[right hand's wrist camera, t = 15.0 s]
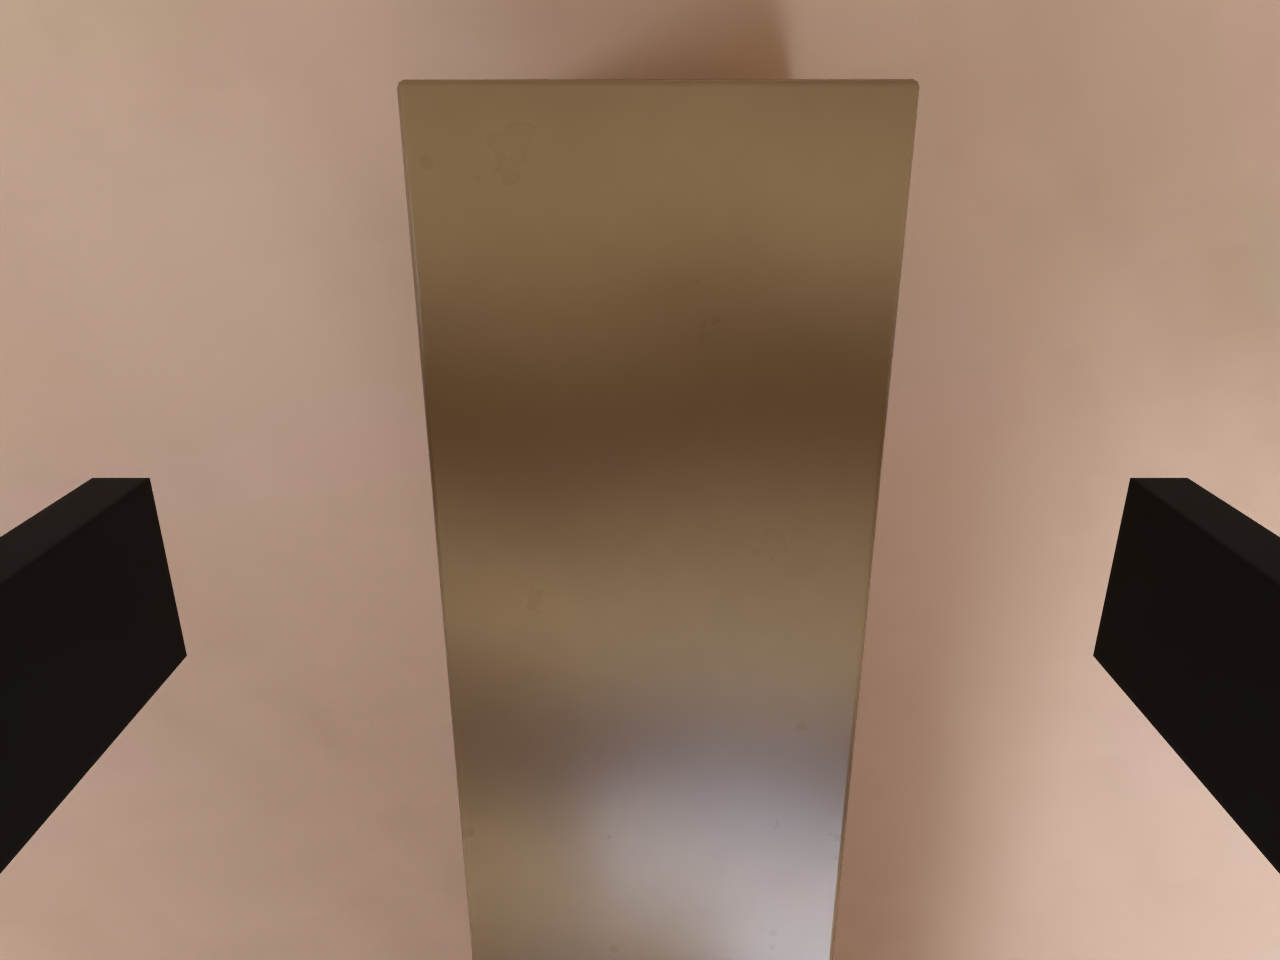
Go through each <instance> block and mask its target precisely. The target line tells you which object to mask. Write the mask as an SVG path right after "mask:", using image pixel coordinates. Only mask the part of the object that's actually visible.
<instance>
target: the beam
mask: <svg viewBox="0 0 1280 960" xmlns="http://www.w3.org/2000/svg"><path fill="white" fill-rule="evenodd" d="M397 93H398V104H399V116H400V127H401V139H402V150H403V162H404V173H405V185H406V196H407V208H408V219H409V231H410V242H411V254H412V265H413V277H414V288H415V300H416V311H417V323H418V334H419V346H420V357H421V369H422V380H423V392H424V403H425V415H426V426H427V438H428V449H429V461H430V472H431V484H432V495H433V507H434V518H435V530H436V541H437V553H438V564H439V576H440V587H441V599H442V610H443V622H444V633H445V645H446V656H447V668H448V679H449V691H450V702H451V714H452V726H453V737H454V749H455V760H456V772H457V783H458V795H459V806H460V818H461V829H462V841H463V852H464V864H465V875H466V887H467V898H468V910H469V921H470V933H471V944H472V956H473V960H832V958H833V948H834V938H835V928H836V918H837V908H838V898H839V888H840V878H841V868H842V858H843V848H844V838H845V828H846V818H847V808H848V798H849V788H850V778H851V768H852V758H853V748H854V738H855V728H856V718H857V707H858V697H859V687H860V677H861V667H862V657H863V647H864V637H865V627H866V617H867V607H868V597H869V587H870V577H871V567H872V557H873V547H874V537H875V527H876V517H877V507H878V497H879V487H880V477H881V467H882V457H883V447H884V437H885V427H886V417H887V406H888V396H889V386H890V376H891V366H892V356H893V346H894V336H895V326H896V316H897V306H898V296H899V286H900V276H901V266H902V256H903V246H904V236H905V226H906V216H907V206H908V196H909V186H910V176H911V166H912V156H913V146H914V136H915V126H916V115H917V105H918V95H919V85H918V82H917V81H915V80H913V79H632V80H402V81H400V82H399V83H398V87H397Z"/></svg>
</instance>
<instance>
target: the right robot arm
mask: <svg viewBox="0 0 1280 960" xmlns="http://www.w3.org/2000/svg"><path fill="white" fill-rule="evenodd" d="M186 656H187V654H186V650H185V645H184V640H183V635H182V630H181V626H180V621H179V616H178V611H177V607H176V602H175V597H174V592H173V587H172V583H171V578H170V573H169V568H168V563H167V559H166V554H165V549H164V544H163V540H162V535H161V530H160V525H159V520H158V516H157V511H156V506H155V501H154V497H153V492H152V487H151V482H150V478H92V479H90V480H89V481H87V482H85V483H84V484H82V485H81V486H79V487H78V488H76V489H75V490H73V491H71V492H70V493H68V494H67V495H65V496H64V497H62V498H61V499H59V500H57V501H56V502H54V503H53V504H51V505H50V506H48V507H47V508H45V509H43V510H42V511H40V512H39V513H37V514H36V515H34V516H33V517H31V518H29V519H28V520H26V521H25V522H23V523H22V524H20V525H19V526H17V527H15V528H14V529H12V530H11V531H9V532H8V533H6V534H5V535H3V536H1V537H0V873H1V872H2V871H3V870H4V869H5V868H6V866H7V865H8V864H9V863H10V862H11V861H12V859H13V858H14V857H15V856H16V855H17V854H18V852H19V851H20V850H21V849H22V848H23V846H24V845H25V844H26V843H27V842H28V841H29V839H30V838H31V837H32V836H33V835H34V834H35V832H36V831H37V830H38V829H39V828H40V827H41V825H42V824H43V823H44V822H45V821H46V820H47V818H48V817H49V816H50V815H51V814H52V813H53V811H54V810H55V809H56V808H57V807H58V806H59V804H60V803H61V802H62V801H63V800H64V799H65V797H66V796H67V795H68V794H69V793H70V792H71V790H72V789H73V788H74V787H75V786H76V785H77V783H78V782H79V781H80V780H81V779H82V778H83V776H84V775H85V774H86V773H87V772H88V771H89V769H90V768H91V767H92V766H93V765H94V764H95V762H96V761H97V760H98V759H99V758H100V757H101V755H102V754H103V753H104V752H105V751H106V749H107V748H108V747H109V746H110V745H111V744H112V742H113V741H114V740H115V739H116V738H117V737H118V735H119V734H120V733H121V732H122V731H123V730H124V728H125V727H126V726H127V725H128V724H129V723H130V721H131V720H132V719H133V718H134V717H135V716H136V714H137V713H138V712H139V711H140V710H141V709H142V707H143V706H144V705H145V704H146V703H147V702H148V700H149V699H150V698H151V697H152V696H153V695H154V693H155V692H156V691H157V690H158V689H159V688H160V686H161V685H162V684H163V683H164V682H165V681H166V679H167V678H168V677H169V676H170V675H171V674H172V672H173V671H174V670H175V669H176V668H177V667H178V665H179V664H180V663H181V662H182V661H183V660H184V658H185V657H186ZM1093 656H1094V657H1095V658H1096V660H1097V661H1098V662H1099V663H1100V664H1101V665H1102V667H1103V668H1104V669H1105V670H1106V671H1107V672H1108V674H1109V675H1110V676H1111V677H1112V678H1113V679H1114V681H1115V682H1116V683H1117V684H1118V685H1119V686H1120V688H1121V689H1122V690H1123V691H1124V692H1125V693H1126V695H1127V696H1128V697H1129V698H1130V699H1131V700H1132V702H1133V703H1134V704H1135V705H1136V706H1137V707H1138V709H1139V710H1140V711H1141V712H1142V713H1143V714H1144V716H1145V717H1146V718H1147V719H1148V720H1149V721H1150V723H1151V724H1152V725H1153V726H1154V727H1155V728H1156V730H1157V731H1158V732H1159V733H1160V734H1161V735H1162V737H1163V738H1164V739H1165V740H1166V741H1167V742H1168V744H1169V745H1170V746H1171V747H1172V748H1173V749H1174V751H1175V752H1176V753H1177V754H1178V755H1179V757H1180V758H1181V759H1182V760H1183V761H1184V762H1185V764H1186V765H1187V766H1188V767H1189V768H1190V769H1191V771H1192V772H1193V773H1194V774H1195V775H1196V776H1197V778H1198V779H1199V780H1200V781H1201V782H1202V783H1203V785H1204V786H1205V787H1206V788H1207V789H1208V790H1209V792H1210V793H1211V794H1212V795H1213V796H1214V797H1215V799H1216V800H1217V801H1218V802H1219V803H1220V804H1221V806H1222V807H1223V808H1224V809H1225V810H1226V811H1227V813H1228V814H1229V815H1230V816H1231V817H1232V818H1233V820H1234V821H1235V822H1236V823H1237V824H1238V825H1239V827H1240V828H1241V829H1242V830H1243V831H1244V832H1245V834H1246V835H1247V836H1248V837H1249V838H1250V839H1251V841H1252V842H1253V843H1254V844H1255V845H1256V846H1257V848H1258V849H1259V850H1260V851H1261V852H1262V854H1263V855H1264V856H1265V857H1266V858H1267V859H1268V861H1269V862H1270V863H1271V864H1272V865H1273V866H1274V868H1275V869H1276V870H1277V871H1278V872H1279V873H1280V537H1279V536H1277V535H1275V534H1274V533H1272V532H1271V531H1269V530H1268V529H1266V528H1265V527H1263V526H1261V525H1260V524H1258V523H1257V522H1255V521H1254V520H1252V519H1251V518H1249V517H1247V516H1246V515H1244V514H1243V513H1241V512H1240V511H1238V510H1237V509H1235V508H1233V507H1232V506H1230V505H1229V504H1227V503H1226V502H1224V501H1223V500H1221V499H1219V498H1218V497H1216V496H1215V495H1213V494H1212V493H1210V492H1209V491H1207V490H1205V489H1204V488H1202V487H1201V486H1199V485H1198V484H1196V483H1195V482H1193V481H1191V480H1190V479H1188V478H1130V482H1129V487H1128V492H1127V496H1126V501H1125V506H1124V511H1123V516H1122V520H1121V525H1120V530H1119V535H1118V540H1117V544H1116V549H1115V554H1114V559H1113V563H1112V568H1111V573H1110V578H1109V583H1108V587H1107V592H1106V597H1105V602H1104V607H1103V611H1102V616H1101V621H1100V626H1099V630H1098V635H1097V640H1096V645H1095V650H1094V654H1093Z"/></svg>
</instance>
